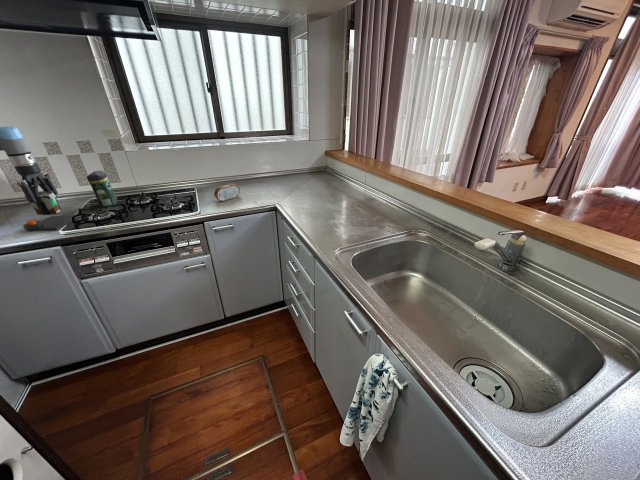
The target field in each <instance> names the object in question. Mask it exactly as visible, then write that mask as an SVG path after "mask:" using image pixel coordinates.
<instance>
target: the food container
mask: <svg viewBox="0 0 640 480" xmlns="http://www.w3.org/2000/svg"><path fill="white" fill-rule="evenodd" d="M38 192H39V195H40V199H41V202H44V203H45V205H46V207H47V209H48V210H49V212H50V214H51V215H50V216H59V214H61V212H62V211H61V210H60V209H59V206H60V205H59V206H58V204H59V203H58V204H57V201H58V200H57V201H56V199H57V196H56V195H55V194H54V193H53V192H54V191H53V192H51V191H48V192H45V191H43V190H41V191H38ZM23 196H24V199H25V200H27V202H28V203H29V201H28V199H27V198H26V196H25V194H24V195H23ZM55 197H56V199H55ZM29 205H30V206H31V207H32V209H33V210H34V211H35V213H36V215H38V216H44V215H43V213H42V211H41V210H40V209H38V207H37V205H36V204H35V203H29Z"/></svg>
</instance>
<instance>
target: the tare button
mask: <svg viewBox="0 0 640 480" xmlns="http://www.w3.org/2000/svg"><path fill="white" fill-rule="evenodd" d="M36 221H37V220H36V219H29V220H26V221H25V224H26V223H27V225H34V224H36V223H37V222H36Z"/></svg>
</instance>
